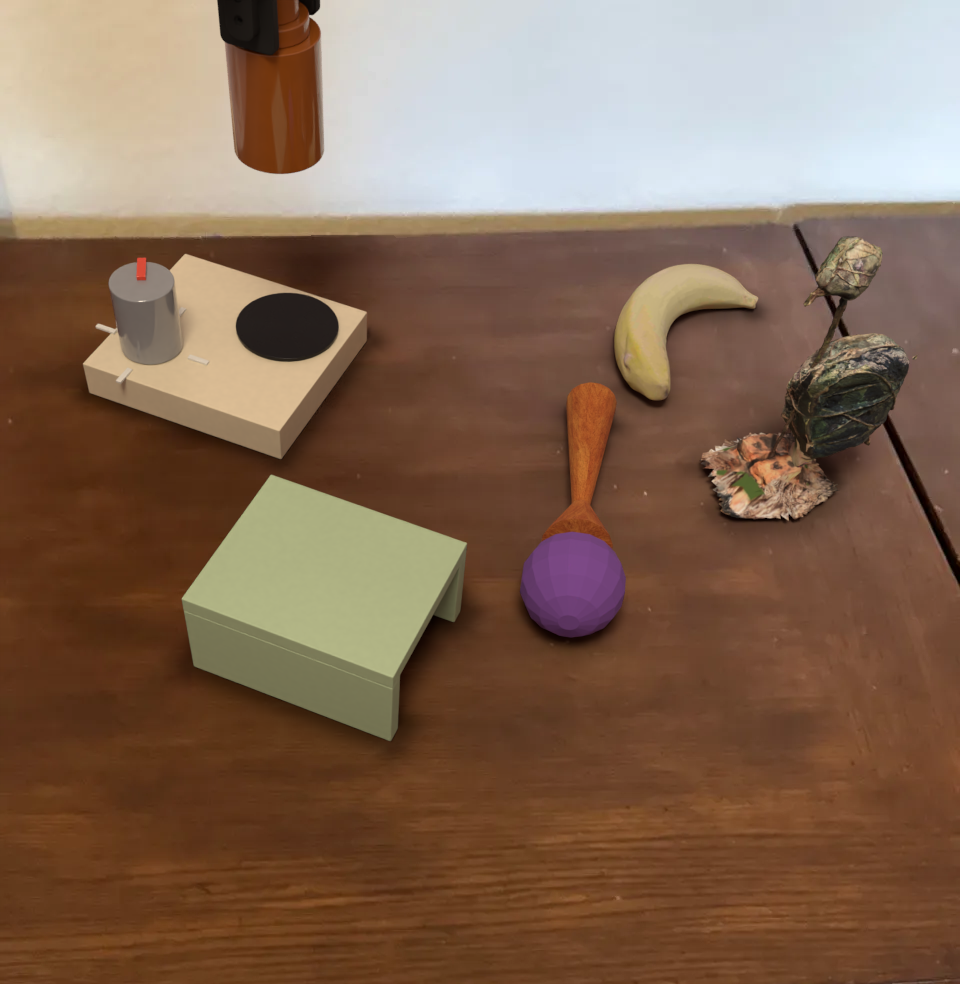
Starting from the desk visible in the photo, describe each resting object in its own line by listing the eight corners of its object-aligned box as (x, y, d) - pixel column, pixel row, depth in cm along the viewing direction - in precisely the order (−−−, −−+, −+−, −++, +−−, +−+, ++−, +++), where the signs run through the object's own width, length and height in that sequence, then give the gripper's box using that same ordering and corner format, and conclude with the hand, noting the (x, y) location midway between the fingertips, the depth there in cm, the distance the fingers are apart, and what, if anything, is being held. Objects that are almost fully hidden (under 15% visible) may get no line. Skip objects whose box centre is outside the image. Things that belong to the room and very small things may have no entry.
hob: (69, 393, 82) (61, 361, 80) (175, 278, 90) (170, 246, 88) (277, 465, 79) (274, 435, 77) (367, 340, 87) (367, 309, 85)
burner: (217, 342, 82) (216, 339, 82) (265, 285, 86) (265, 281, 86) (310, 374, 81) (310, 370, 81) (355, 314, 85) (355, 310, 85)
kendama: (650, 381, 81) (638, 602, 68) (618, 449, 85) (601, 669, 72) (563, 354, 80) (533, 571, 67) (534, 423, 85) (502, 641, 71)
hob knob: (183, 364, 81) (173, 296, 77) (119, 366, 80) (105, 298, 76) (183, 324, 83) (174, 256, 79) (121, 325, 83) (108, 257, 78)
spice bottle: (218, 159, 72) (194, -74, 62) (260, 115, 75) (244, -113, 65) (299, 183, 71) (288, -48, 61) (339, 139, 74) (335, -89, 64)
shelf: (193, 666, 70) (180, 598, 65) (276, 544, 75) (270, 473, 71) (390, 742, 68) (393, 677, 63) (460, 610, 73) (467, 542, 69)
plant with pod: (881, 527, 80) (1010, 264, 64) (708, 526, 79) (796, 258, 63) (850, 438, 85) (963, 173, 69) (687, 436, 84) (763, 166, 68)
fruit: (570, 371, 87) (576, 333, 84) (675, 268, 95) (684, 230, 92) (659, 417, 85) (669, 380, 82) (759, 307, 93) (770, 270, 90)
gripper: (229, -331, 48) (261, 120, 62) (407, -430, 57) (398, -21, 72) (57, -370, 49) (127, 80, 63) (259, -461, 59) (280, -53, 73)
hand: (271, 23), depth 67 cm, fingers closed on spice bottle, 4 cm apart
